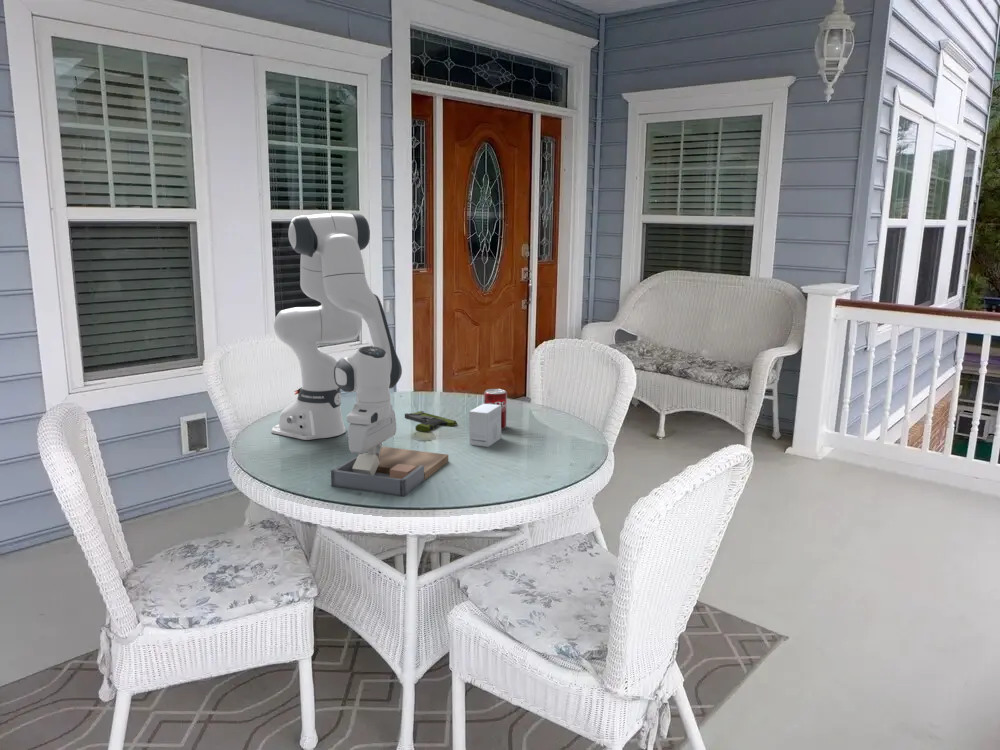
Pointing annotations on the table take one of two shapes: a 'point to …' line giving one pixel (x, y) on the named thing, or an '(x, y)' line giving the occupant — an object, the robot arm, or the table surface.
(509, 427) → the table surface
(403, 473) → the terracotta tile
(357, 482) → the bin
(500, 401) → the soda can
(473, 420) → the skincare box
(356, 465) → the cream tile
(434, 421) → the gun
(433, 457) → the walnut board
